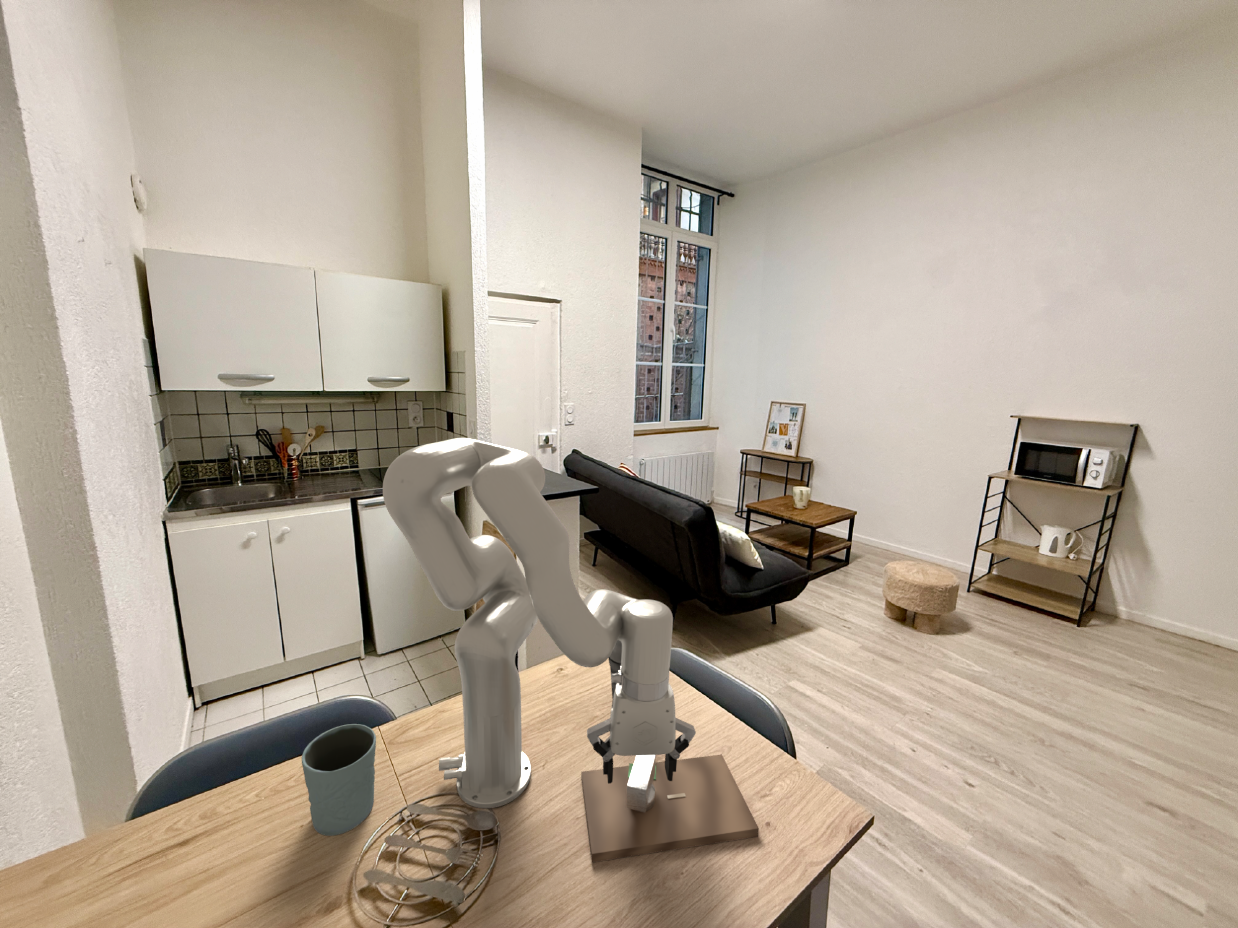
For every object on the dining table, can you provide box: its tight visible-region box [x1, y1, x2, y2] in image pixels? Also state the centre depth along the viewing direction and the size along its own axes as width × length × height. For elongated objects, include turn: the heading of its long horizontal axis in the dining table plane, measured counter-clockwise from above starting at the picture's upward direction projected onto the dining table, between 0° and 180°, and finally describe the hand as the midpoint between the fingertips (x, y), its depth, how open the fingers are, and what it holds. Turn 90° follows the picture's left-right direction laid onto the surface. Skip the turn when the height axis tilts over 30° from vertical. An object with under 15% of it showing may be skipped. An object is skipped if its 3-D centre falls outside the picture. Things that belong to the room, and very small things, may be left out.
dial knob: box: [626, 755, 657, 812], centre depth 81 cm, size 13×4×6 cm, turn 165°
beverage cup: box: [608, 640, 622, 700], centre depth 103 cm, size 7×7×20 cm
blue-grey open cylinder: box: [301, 723, 377, 837], centre depth 77 cm, size 10×10×12 cm
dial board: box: [580, 754, 760, 863], centre depth 80 cm, size 26×15×2 cm, turn 100°
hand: (639, 775), depth 79 cm, fingers open, 9 cm apart
